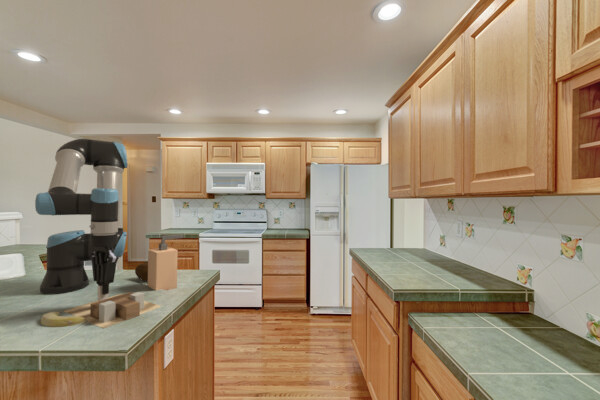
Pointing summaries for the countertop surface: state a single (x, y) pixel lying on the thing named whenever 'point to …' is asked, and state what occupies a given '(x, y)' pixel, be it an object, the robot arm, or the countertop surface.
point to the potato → (142, 271)
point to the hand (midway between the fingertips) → (103, 303)
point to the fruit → (60, 320)
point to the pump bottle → (163, 265)
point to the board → (85, 313)
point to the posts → (109, 307)
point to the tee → (119, 307)
